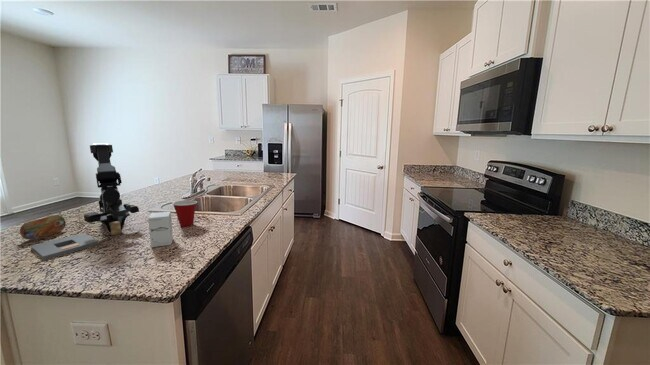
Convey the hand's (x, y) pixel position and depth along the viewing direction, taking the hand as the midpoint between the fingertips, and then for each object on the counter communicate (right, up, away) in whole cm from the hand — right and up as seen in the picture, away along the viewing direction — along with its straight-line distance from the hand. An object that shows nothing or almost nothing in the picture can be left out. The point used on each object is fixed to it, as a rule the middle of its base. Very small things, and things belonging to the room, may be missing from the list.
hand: (115, 231), depth 120 cm
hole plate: (-9, -4, -14) cm, 17 cm away
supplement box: (+27, -4, -9) cm, 29 cm away
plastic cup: (+26, +1, +12) cm, 29 cm away
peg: (0, -1, 0) cm, 1 cm away
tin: (-28, -2, -4) cm, 28 cm away
